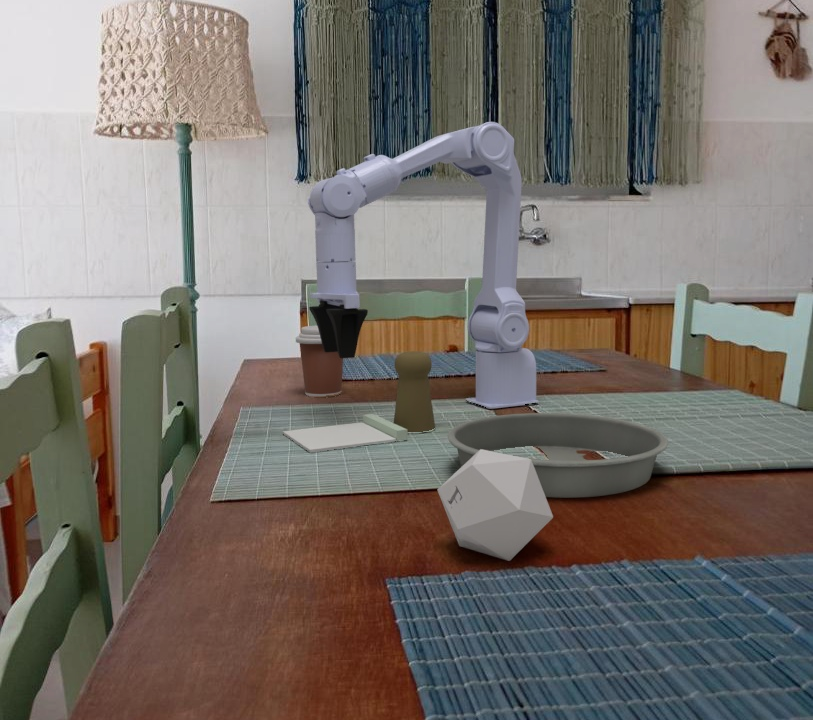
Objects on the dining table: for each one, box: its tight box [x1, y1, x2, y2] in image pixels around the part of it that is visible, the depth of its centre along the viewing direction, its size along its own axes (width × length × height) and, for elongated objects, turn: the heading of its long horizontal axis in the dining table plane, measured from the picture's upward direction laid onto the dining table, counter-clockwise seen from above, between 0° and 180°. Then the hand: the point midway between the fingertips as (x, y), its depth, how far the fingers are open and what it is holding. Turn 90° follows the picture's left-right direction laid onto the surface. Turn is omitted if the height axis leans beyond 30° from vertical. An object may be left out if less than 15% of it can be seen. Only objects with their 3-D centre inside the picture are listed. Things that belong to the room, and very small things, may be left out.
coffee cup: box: [295, 324, 344, 396], centre depth 144 cm, size 9×9×12 cm
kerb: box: [362, 413, 409, 442], centre depth 114 cm, size 2×12×2 cm, turn 25°
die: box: [437, 449, 554, 562], centre depth 69 cm, size 8×9×10 cm
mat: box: [282, 421, 397, 454], centre depth 111 cm, size 12×12×1 cm
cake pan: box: [447, 412, 669, 499], centre depth 93 cm, size 25×25×4 cm
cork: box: [393, 351, 436, 432], centre depth 115 cm, size 6×6×11 cm
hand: (339, 354), depth 120 cm, fingers open, 7 cm apart
